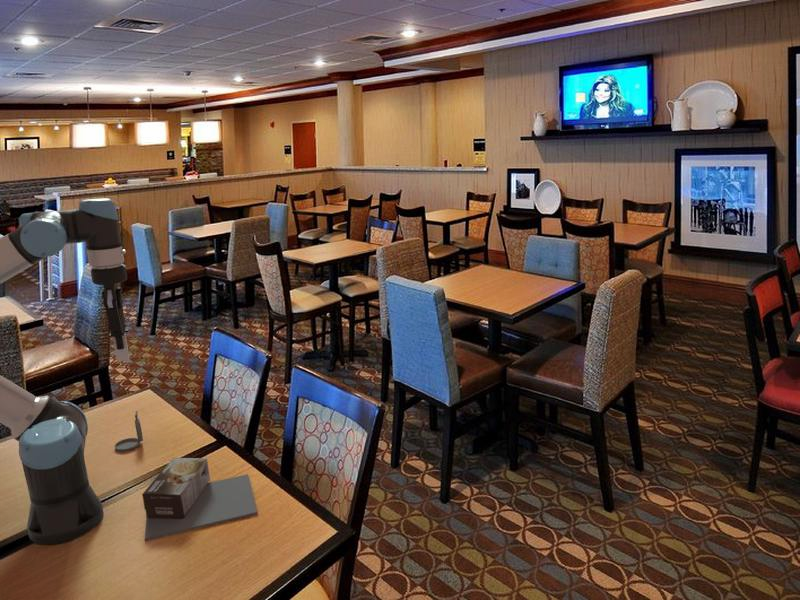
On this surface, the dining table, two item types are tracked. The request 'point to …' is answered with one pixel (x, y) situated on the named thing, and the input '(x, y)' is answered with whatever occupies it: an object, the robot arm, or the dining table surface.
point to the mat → (209, 508)
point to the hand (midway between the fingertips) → (123, 359)
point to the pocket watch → (131, 442)
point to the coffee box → (176, 488)
